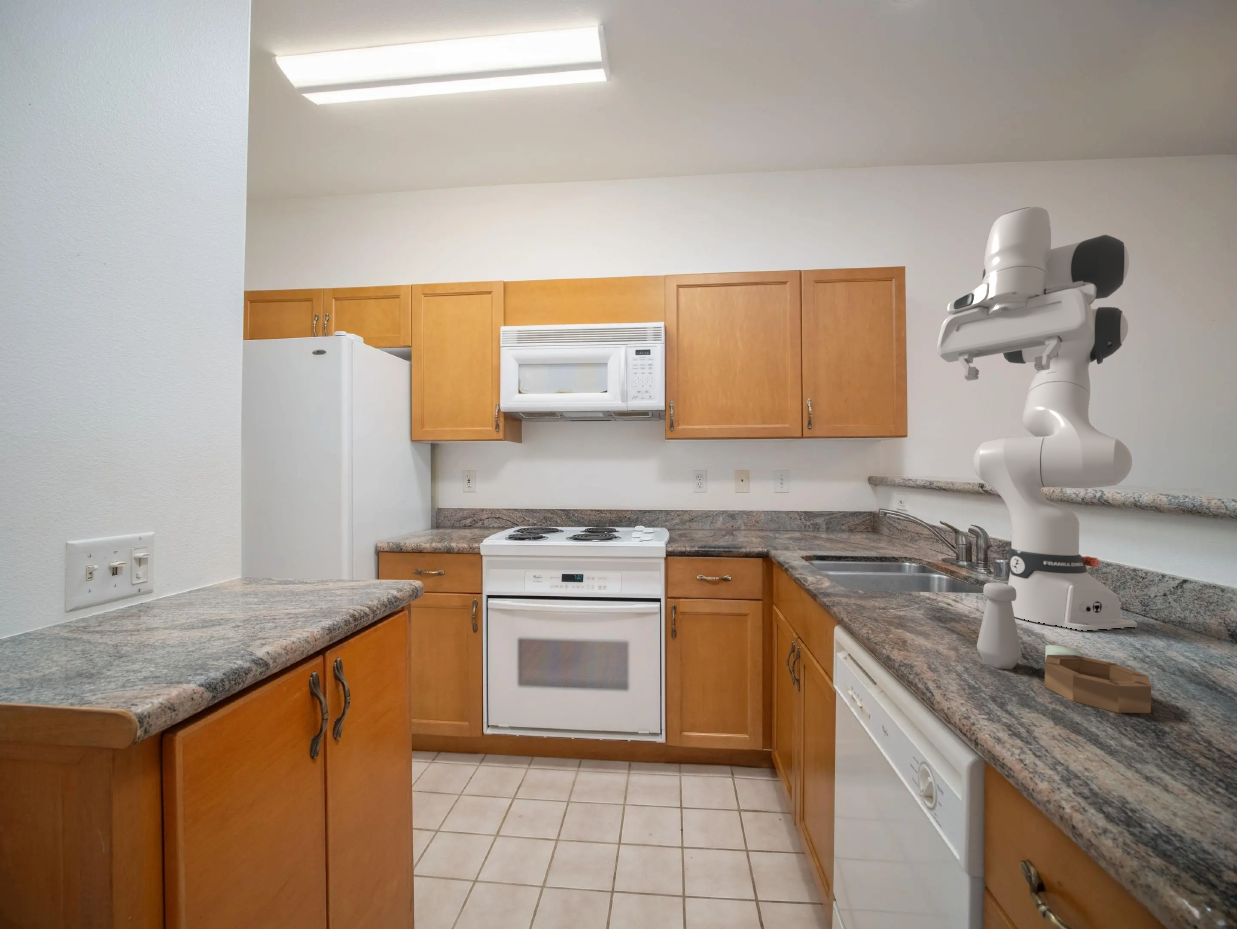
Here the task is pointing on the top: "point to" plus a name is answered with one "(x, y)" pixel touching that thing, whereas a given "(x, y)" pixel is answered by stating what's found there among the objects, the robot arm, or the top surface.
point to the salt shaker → (999, 628)
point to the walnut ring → (1098, 683)
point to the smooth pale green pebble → (1061, 651)
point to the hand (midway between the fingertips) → (1004, 374)
